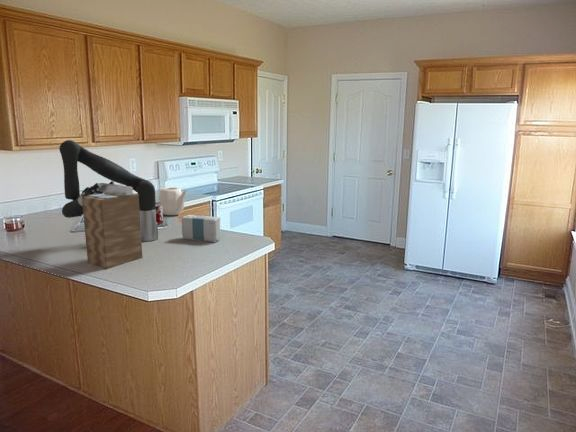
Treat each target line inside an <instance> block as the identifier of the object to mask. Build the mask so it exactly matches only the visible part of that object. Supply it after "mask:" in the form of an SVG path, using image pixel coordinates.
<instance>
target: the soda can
mask: <svg viewBox="0 0 576 432" xmlns="http://www.w3.org/2000/svg"><path fill="white" fill-rule="evenodd" d="M155 211H156V222H157V223H158V225H161V224H163V223H164V213H163V208H162V206H161V205H160V203H159V204H158V203H156V204H155Z"/></svg>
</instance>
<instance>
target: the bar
mask: <svg viewBox="0 0 576 432" xmlns="http://www.w3.org/2000/svg"><path fill="white" fill-rule="evenodd" d="M97 183H98V184H99V188H98V189H96V191H100V192H107V193H114V194H121V195H131V194H133V193H134V190H133V189H132V187H130V186H126V185H123V184H115V183H114V184H115V185H114V184H109V183H107V182H106V183H105V182H100V183H99V182H97Z"/></svg>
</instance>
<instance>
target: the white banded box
mask: <svg viewBox="0 0 576 432" xmlns="http://www.w3.org/2000/svg"><path fill="white" fill-rule="evenodd" d="M216 207H217V205H215V206H213V207H211V208H208V209H205V211H204V210H203V211H202V212H200V213H198V214H187V215H183V216H182V218H181V235H182V239H184V240H191V239H192V240H193V241H201V240H203V242H211V241H216V242H217V241H219V240H220V239H221V217H219V216H210V215H209V216H208V215H202V214H204V213H206V212H208V211H210V210H212V209H213V208H216ZM218 239H219V240H218ZM192 240H191V241H192Z"/></svg>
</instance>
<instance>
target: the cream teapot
mask: <svg viewBox="0 0 576 432" xmlns="http://www.w3.org/2000/svg"><path fill="white" fill-rule="evenodd" d="M187 191H188V190H187V189H184V190H183V191H182V189H181V188H180V187H178V186H177V187H176V186H174V187H173V186H171V187H170V186H169V187H167V186H166V187H163V188H162V189H161V190H160V191H159V196H158V200H159V204H160V205H161V206H162V208H163V216H177V215H181V214H182V211H183V210H184V209H185V197H186V193H187Z"/></svg>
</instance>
